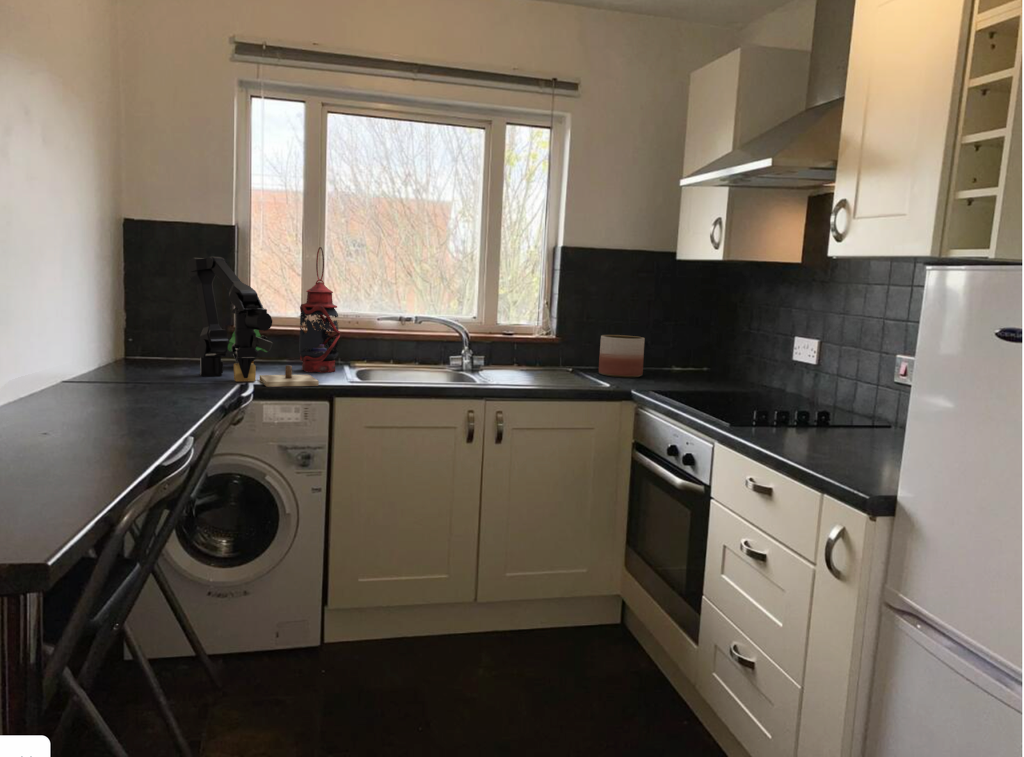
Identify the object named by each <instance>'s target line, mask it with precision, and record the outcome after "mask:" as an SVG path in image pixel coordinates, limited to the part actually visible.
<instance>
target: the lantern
mask: <svg viewBox="0 0 1024 757" xmlns="http://www.w3.org/2000/svg"><path fill="white" fill-rule="evenodd" d="M320 251H321V254H322V255H321V256H322V271H321V276H320V277H319V270H318V266H319V265H318V264H319V262H318V261H319V253H320ZM324 269H325V256H324V249H323V248H322V247H321V246H320V247H318V250H317V253H316V276H317V280H316V282H315V284H314V285H313V286H312V287H311V288H309V289H307V290H306V291H305V292H306V293H307V295H306V302H305V303H301V304H300V306H299V310H300V315H299V316H300V318H299V328H300V329H299V342H298V352H299V357H300V358H299V359H300V361H301V362H302V365H301V366H302V368H301V369H302V371H303V370H304V371H303V372H305V371H306V372H305V373H313V372H320V373H334V372H336V360H335V359H336V358H337V357H338V356H339V354H340V353H339V350H337V349H339V339H340V337H341V331H340V330H339V323H338V319H337V318H339V314H338V312H337V310H336V308H338V306H337V305H336V304H334V302H333V293H334V292H333V291H332V290H331V289H329V288H328V287H327V286H326V285H325V282H324V281H323V277H324V271H325V270H324ZM310 316H311V317H315V318H314V320H313V319H311V320H310ZM331 317H332V318H335V319H336V320H332V318H331ZM304 330H305V331H306V332H305V331H304ZM328 332H329V333H328ZM333 332H334V333H335V334H333ZM332 334H333V335H332ZM332 340H333V341H332ZM325 346H326V347H325ZM320 373H319V374H320Z"/></svg>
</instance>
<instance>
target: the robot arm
mask: <svg viewBox="0 0 1024 757" xmlns="http://www.w3.org/2000/svg"><path fill="white" fill-rule="evenodd" d="M226 262H227V260H226V259H225V258H224V257H221V256H209V257H203V258H202V257H191V258H190V259H189V261H188V262H187V264H186V269H187V272H188V275H189V276H188V277H189V279H190V280H191V281H192V282H193V283H194V285H195V286H196V292H197V298H198V302H199V309H200V315H201V321H202V326H203V327H202V330H201V333H200V335H199V343H198V344H197V346H196V347H195V349H194V355H195V356H194V357H196V358H199V359H200V360H199V361H200V372H199V374H200V376H201V377H219V376H223V373H224V361H223V360H222V357H223V358H224V357H225V358H226V356H227V353H228V352H227V351H228V344H229V341H230V339H229V338H228V332H227V330H226V329H222V327H221V326H220V323H219V319H218V318H219V317H218V311H217V305H216V298H215V293H214V287H213V282H214V280H215V277H217V278H218V280H219V281H220V282H221V283H222V285H223V286H224V287H225V288H226V289H227V291H228V298H229V300H230V302H231V303H232V305H233V306H234V308H233V309H232V310H231V312H230V313H231V314H234V317H235V319H234V321H235V322H234V331H233V332H234V334H235V343H234V344H233V345H232V351H231V352H232V355H233V358H234V359H235V360H234V361H235V364H239V366H240V369H241V371H242V374H243V377H244V378H248V374H249V370H250V366H251V363H252V361H254V362H255V360H256V359H257V358H259V350H256V349H255V348H256V347H259V348H262V349H264V350H266V351H267V353H268V352H270V351H271V349H272V346H273V344H274V343H273V342H272V341H270V340H268V336H265V335H263V334H262V335H261V337H260V338H259V337H256V333H255V332H254V330H259V331H262V332H265V331H268V330H270V328H271V327H272V326H273V319H272V316H271V315H270V314H269V313H268V309H267V308H264V306H263V303H262V302H261V300H260V297H259V294H258V293H257V291H256V290H255V289H254V288H252V286H250V285H248V284H246V283H244V282H243V281H242V280H241V279H240V278H239V277H238V275H236V273H235V272H234V271H233V270H232V269H231V267H230V266H229V264H228V263H226Z"/></svg>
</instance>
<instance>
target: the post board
mask: <svg viewBox="0 0 1024 757" xmlns="http://www.w3.org/2000/svg"><path fill="white" fill-rule="evenodd" d="M284 369H285V370H284V371H285V374H263V375H262V374H260V375H259V377H258V378H259V381H260V382H261V381H262V382H263V383H264V384H263V383H262V382H261V383H262V384H263V385H264V386H265V387H269V388H272V387H274V388H275V387H317V386H319V385H320V384H319V383H320V382H319V380H318V379H316V378H314V376H312V375H310V374H293V366H292V365H290V364H289V365H285V368H284Z"/></svg>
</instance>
